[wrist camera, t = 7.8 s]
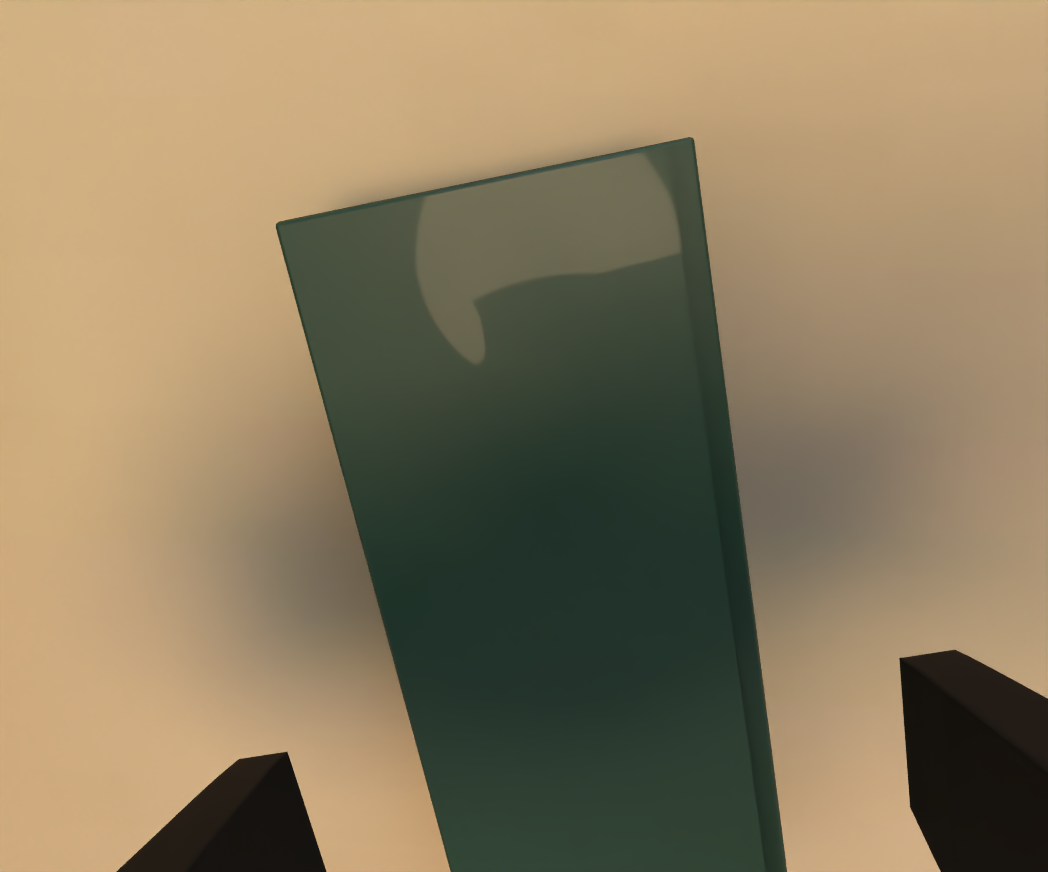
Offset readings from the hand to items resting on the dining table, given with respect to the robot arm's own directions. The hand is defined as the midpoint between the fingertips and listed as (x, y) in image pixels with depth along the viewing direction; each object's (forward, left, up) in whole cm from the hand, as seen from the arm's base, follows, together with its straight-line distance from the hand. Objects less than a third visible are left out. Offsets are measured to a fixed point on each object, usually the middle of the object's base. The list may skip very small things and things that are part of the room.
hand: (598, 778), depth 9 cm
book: (0, 0, -6) cm, 6 cm away
